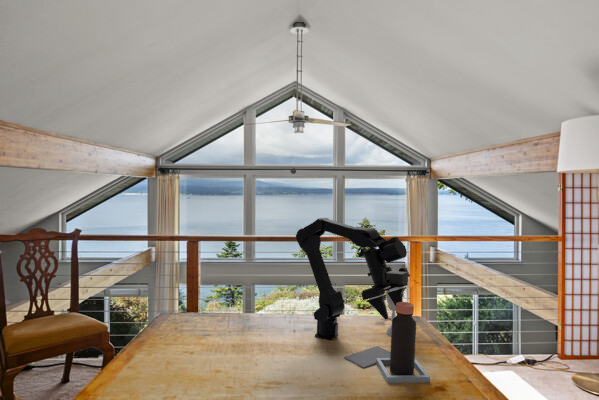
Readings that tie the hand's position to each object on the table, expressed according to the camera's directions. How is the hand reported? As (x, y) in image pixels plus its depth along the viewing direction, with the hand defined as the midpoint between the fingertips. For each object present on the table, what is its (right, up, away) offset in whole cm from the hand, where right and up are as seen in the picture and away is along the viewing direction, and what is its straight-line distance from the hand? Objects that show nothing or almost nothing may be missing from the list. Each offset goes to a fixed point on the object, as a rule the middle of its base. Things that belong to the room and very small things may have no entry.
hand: (394, 315), depth 130 cm
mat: (-7, -13, +1) cm, 15 cm away
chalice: (+4, -13, +22) cm, 26 cm away
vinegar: (0, -14, -8) cm, 17 cm away
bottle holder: (0, -14, -8) cm, 16 cm away
